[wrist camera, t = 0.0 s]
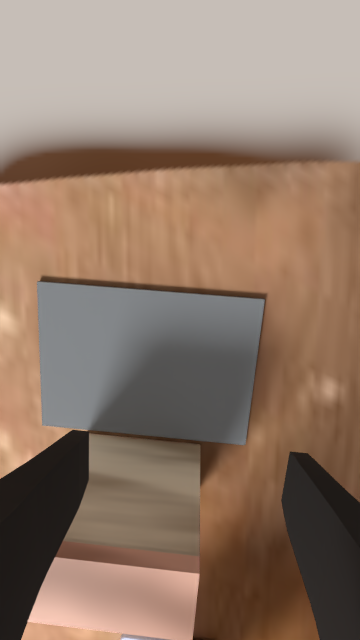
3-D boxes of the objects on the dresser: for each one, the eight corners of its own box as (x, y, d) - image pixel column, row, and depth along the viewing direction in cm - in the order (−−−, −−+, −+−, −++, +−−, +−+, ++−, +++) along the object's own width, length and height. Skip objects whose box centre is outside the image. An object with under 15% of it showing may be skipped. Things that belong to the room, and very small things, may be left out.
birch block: (195, 492, 24) (192, 642, 15) (86, 481, 25) (21, 620, 16) (200, 444, 23) (199, 573, 14) (86, 432, 24) (16, 552, 15)
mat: (244, 442, 23) (245, 445, 23) (44, 422, 23) (42, 425, 23) (263, 298, 20) (264, 299, 20) (39, 281, 21) (37, 281, 21)
